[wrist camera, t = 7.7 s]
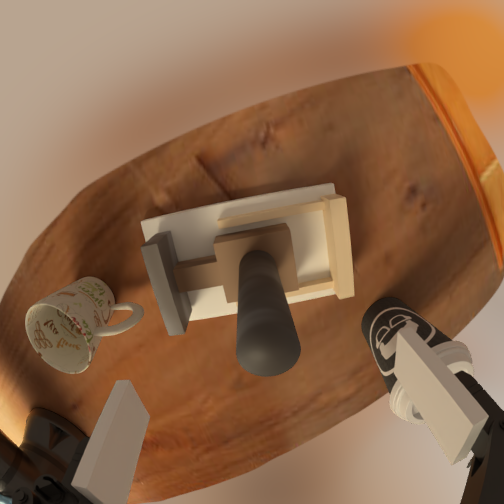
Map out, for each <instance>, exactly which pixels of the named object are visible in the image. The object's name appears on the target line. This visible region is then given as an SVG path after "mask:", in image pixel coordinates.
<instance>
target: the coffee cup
mask: <svg viewBox="0 0 504 504" xmlns="http://www.w3.org/2000/svg"><path fill="white" fill-rule="evenodd" d="M409 327H411V328H412V329H413V330H414V331H415V332H416V333H417V334H418V335H419V336H420V337H421V338H422V339H423V340H424V341H425V343H426V344H427V345H428V346H429V347H430V348H431V349H432V350H433V351H434V352H435V354H436V355H437V356H438V357H439V358H440V359H441V360H442V361H443V362H444V364H445V365H446V366H447V367H448V368H449V369H450V370H451V371H452V373H453V374H455V373H457V372H459V371H461V370H462V371H464V372H466V373H468V374H470V375H472V377H473V376H474V369H473V366H472V358H471V354H470V352H469V350H468V348H467V346H466V345H465V344H464V343H462V342H459V341H452V340H451V339H450V338H448V337H447V336H446V335H445V334H443V333H442V332H441V331H439V330H438V329H437V328H436V327H434V326H433V325H432V324H430V323H429V322H428V321H427V320H425V319H424V318H423V317H421V316H420V315H419V314H417V313H416V312H415V311H414V310H412V309H411V308H410V307H408V306H407V305H406V304H404V303H403V302H402V301H400V300H399V299H397V298H393V297H388V298H383V299H381V300H379V301H377V302H375V303H374V304H373V305H372V306H370V308H369V309H368V310H367V311H366V313H365V315H364V317H363V320H362V332H363V334H364V336H365V338H366V341H367V343H368V345H369V347H370V349H371V351H372V354H373V356H374V358H375V360H376V363H377V365H378V367H379V369H380V372H381V374H382V376H383V379H384V381H385V384H386V386H387V388H388V391H389V393H390V399H389V404H390V408H391V410H392V411H393V412H394V413H395V414H396V415H397V416H398V417H400V418H402V419H404V420H407V421H408V422H410V423H412V424H425V423H426V422H425V421H424V419H423V418H422V416H421V414H420V413H419V411H418V410H417V408H416V407H415V405H414V403H413V402H412V400H411V399H410V397H409V396H408V394H407V393H406V391H405V390H404V388H403V386H402V385H401V383H400V382H399V380H398V379H397V377H396V376H395V374H394V366H395V357H396V346H397V332H398V331H400V330H403V329H406V328H409Z"/></svg>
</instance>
